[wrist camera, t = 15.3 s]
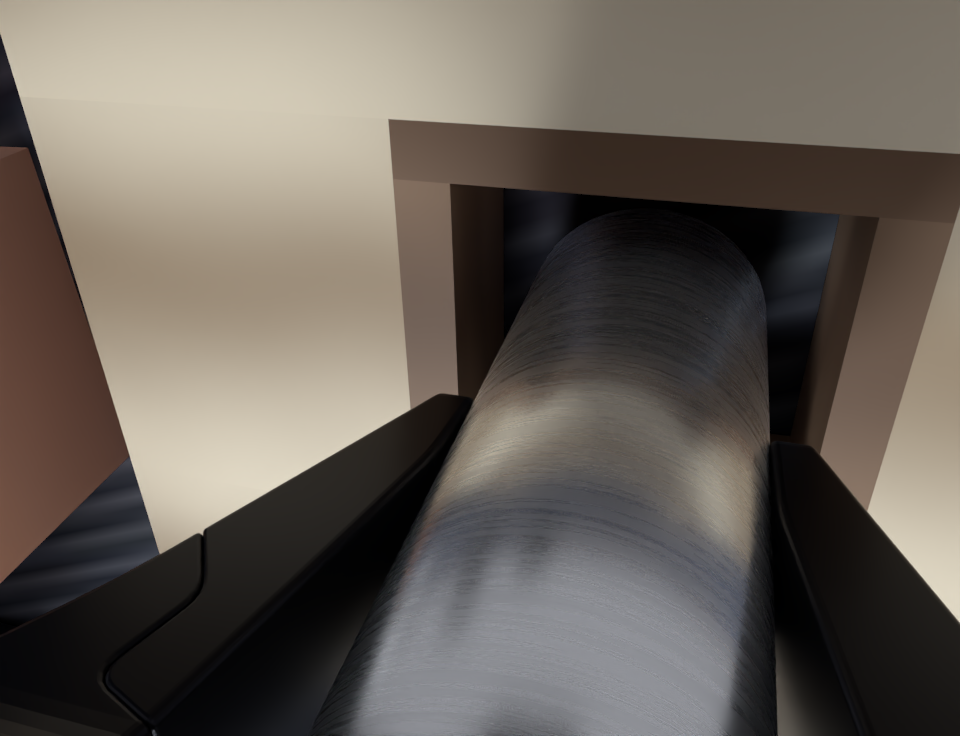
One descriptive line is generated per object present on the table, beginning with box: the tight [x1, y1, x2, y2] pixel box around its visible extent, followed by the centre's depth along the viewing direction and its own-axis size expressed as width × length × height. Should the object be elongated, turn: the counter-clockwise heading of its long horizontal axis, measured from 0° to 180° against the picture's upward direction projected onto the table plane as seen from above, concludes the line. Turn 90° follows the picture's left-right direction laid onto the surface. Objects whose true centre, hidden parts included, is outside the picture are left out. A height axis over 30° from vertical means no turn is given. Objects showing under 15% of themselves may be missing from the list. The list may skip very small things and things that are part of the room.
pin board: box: [0, 0, 960, 622], centre depth 11 cm, size 18×16×2 cm
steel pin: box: [307, 208, 778, 736], centre depth 8 cm, size 3×3×9 cm
